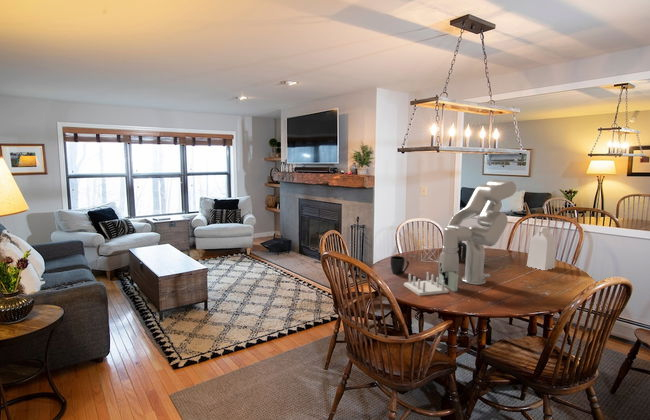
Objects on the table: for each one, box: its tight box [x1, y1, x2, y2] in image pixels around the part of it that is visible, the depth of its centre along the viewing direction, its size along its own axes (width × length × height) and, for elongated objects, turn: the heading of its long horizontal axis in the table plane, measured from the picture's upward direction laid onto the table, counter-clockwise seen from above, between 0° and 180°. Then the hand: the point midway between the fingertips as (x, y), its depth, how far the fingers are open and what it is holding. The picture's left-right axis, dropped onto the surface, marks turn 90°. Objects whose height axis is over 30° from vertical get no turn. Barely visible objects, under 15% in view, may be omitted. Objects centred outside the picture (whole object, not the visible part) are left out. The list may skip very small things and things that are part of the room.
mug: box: [390, 255, 410, 275], centre depth 225 cm, size 8×12×10 cm
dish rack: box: [403, 271, 450, 296], centre depth 200 cm, size 17×16×6 cm
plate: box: [438, 271, 459, 292], centre depth 203 cm, size 14×2×9 cm, turn 17°
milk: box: [526, 226, 557, 271], centre depth 241 cm, size 12×12×26 cm
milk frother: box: [457, 241, 467, 263], centre depth 256 cm, size 14×16×15 cm
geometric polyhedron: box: [420, 245, 439, 263], centre depth 255 cm, size 12×11×9 cm
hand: (447, 283), depth 204 cm, fingers closed on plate, 2 cm apart
